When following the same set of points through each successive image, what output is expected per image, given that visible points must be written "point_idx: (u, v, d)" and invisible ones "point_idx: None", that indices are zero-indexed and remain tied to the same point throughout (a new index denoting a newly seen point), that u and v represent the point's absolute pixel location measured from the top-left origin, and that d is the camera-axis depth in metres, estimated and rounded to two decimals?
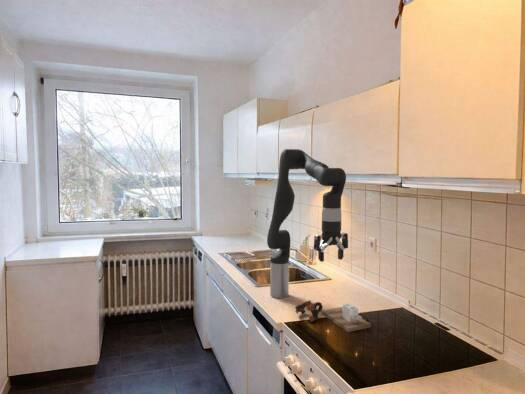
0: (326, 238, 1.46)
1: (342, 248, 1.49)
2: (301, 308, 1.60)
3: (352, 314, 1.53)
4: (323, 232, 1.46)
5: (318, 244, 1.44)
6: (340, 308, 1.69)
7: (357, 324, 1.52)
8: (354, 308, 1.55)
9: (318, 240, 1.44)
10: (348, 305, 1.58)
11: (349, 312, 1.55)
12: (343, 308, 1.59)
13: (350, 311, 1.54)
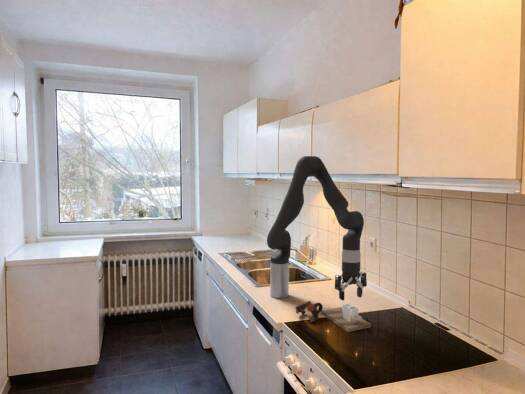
0: (346, 278, 1.54)
1: (361, 287, 1.57)
2: (301, 309, 1.60)
3: (352, 314, 1.53)
4: (343, 272, 1.54)
5: (339, 284, 1.52)
6: (340, 308, 1.69)
7: (357, 324, 1.52)
8: (354, 308, 1.55)
9: (339, 280, 1.52)
10: (348, 305, 1.58)
11: (349, 312, 1.55)
12: (343, 308, 1.59)
13: (350, 311, 1.54)
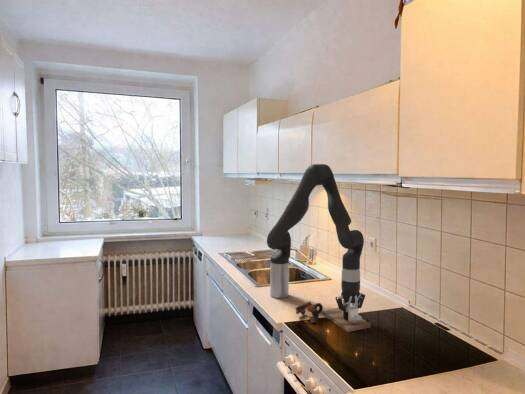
0: (346, 298, 1.55)
1: None
2: (301, 309, 1.59)
3: (352, 314, 1.53)
4: (343, 291, 1.55)
5: (342, 305, 1.54)
6: None
7: (357, 324, 1.52)
8: (354, 308, 1.55)
9: (340, 302, 1.53)
10: None
11: (349, 312, 1.55)
12: None
13: (350, 311, 1.54)
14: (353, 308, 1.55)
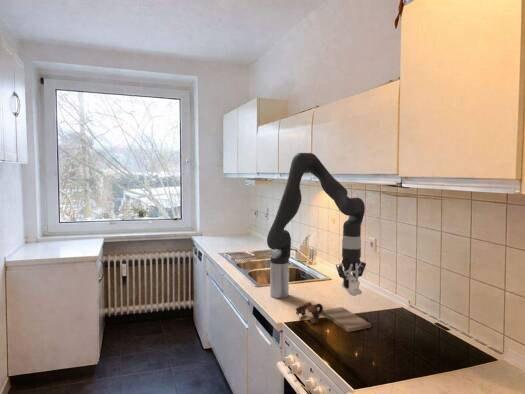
0: (347, 266, 1.54)
1: (357, 276, 1.56)
2: (302, 310, 1.58)
3: (353, 287, 1.52)
4: (344, 259, 1.54)
5: (342, 273, 1.53)
6: (340, 308, 1.69)
7: (357, 324, 1.52)
8: (356, 281, 1.53)
9: (341, 270, 1.52)
10: (350, 276, 1.56)
11: (350, 284, 1.54)
12: None
13: (351, 284, 1.53)
14: (355, 281, 1.53)
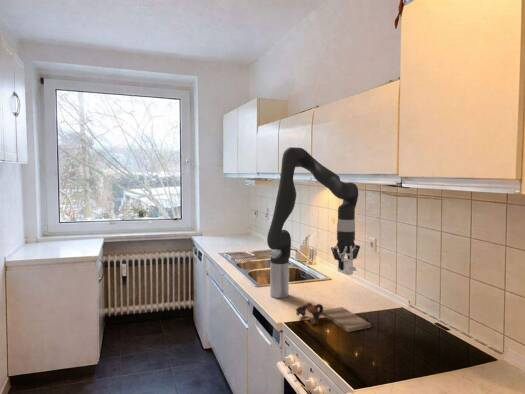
0: (341, 248, 1.59)
1: (351, 258, 1.61)
2: (302, 310, 1.58)
3: (347, 266, 1.58)
4: (338, 241, 1.59)
5: (337, 255, 1.58)
6: (340, 308, 1.69)
7: (357, 324, 1.52)
8: (349, 260, 1.60)
9: (336, 252, 1.58)
10: None
11: (344, 264, 1.59)
12: (338, 262, 1.63)
13: (345, 263, 1.59)
14: (348, 260, 1.60)
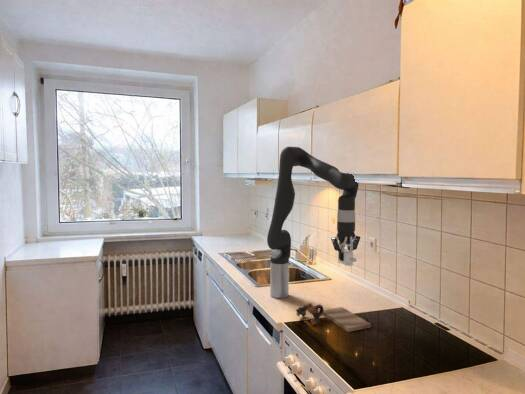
0: (341, 239, 1.59)
1: (351, 249, 1.61)
2: (302, 311, 1.57)
3: (347, 257, 1.58)
4: (338, 232, 1.59)
5: (337, 245, 1.58)
6: (340, 308, 1.69)
7: (357, 324, 1.52)
8: (349, 251, 1.59)
9: (336, 242, 1.58)
10: None
11: (344, 255, 1.59)
12: None
13: (345, 254, 1.58)
14: (348, 251, 1.59)
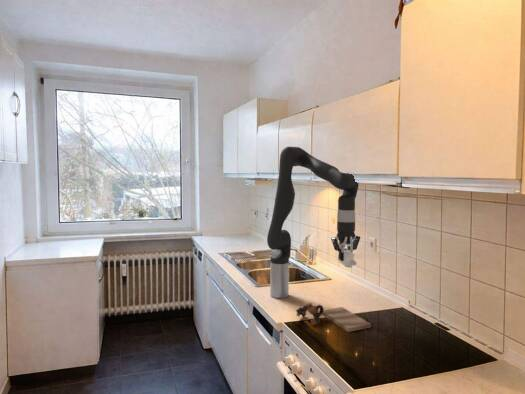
0: (341, 239, 1.59)
1: (351, 249, 1.61)
2: (302, 311, 1.57)
3: (348, 259, 1.58)
4: (338, 232, 1.59)
5: (337, 245, 1.58)
6: (340, 308, 1.69)
7: (357, 324, 1.52)
8: (350, 253, 1.59)
9: (336, 242, 1.58)
10: (345, 250, 1.62)
11: (345, 256, 1.59)
12: None
13: (346, 256, 1.58)
14: (349, 253, 1.58)
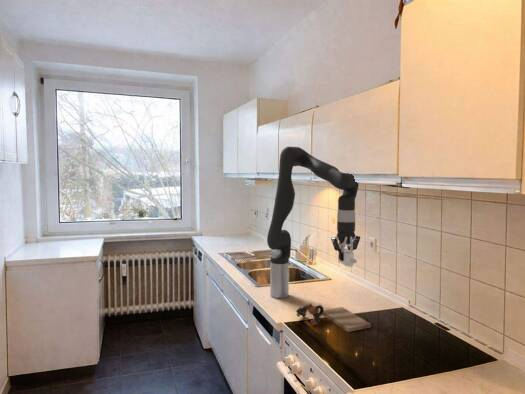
0: (341, 239, 1.59)
1: (351, 249, 1.61)
2: (303, 311, 1.57)
3: (348, 258, 1.58)
4: (338, 232, 1.59)
5: (337, 245, 1.58)
6: (340, 308, 1.69)
7: (357, 324, 1.52)
8: (350, 252, 1.59)
9: (336, 242, 1.58)
10: (344, 250, 1.62)
11: (345, 256, 1.59)
12: None
13: (346, 255, 1.58)
14: (349, 252, 1.59)
